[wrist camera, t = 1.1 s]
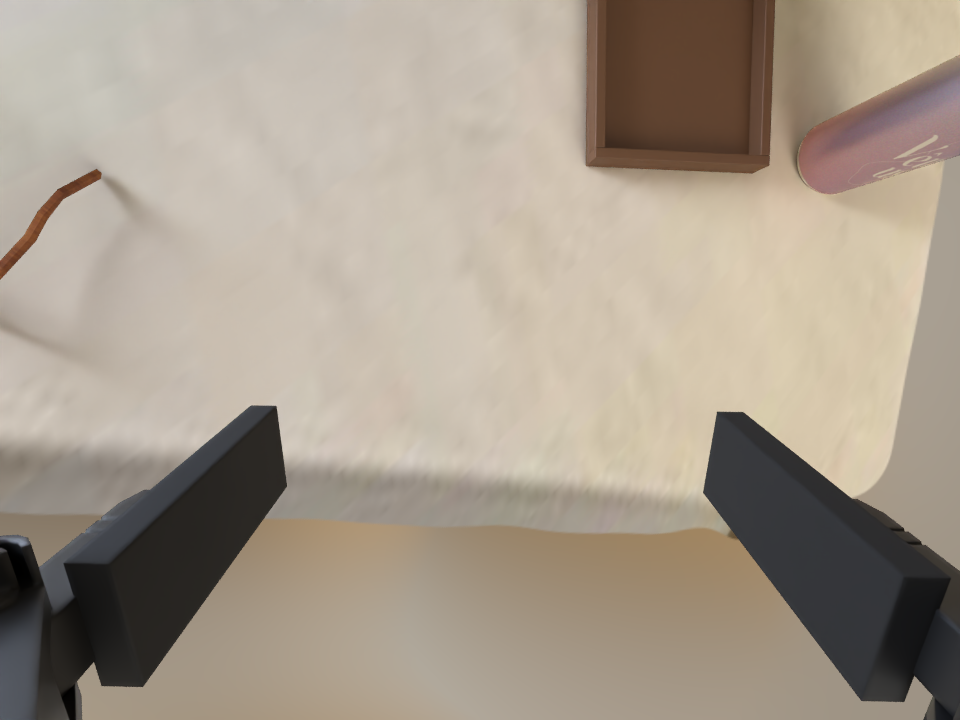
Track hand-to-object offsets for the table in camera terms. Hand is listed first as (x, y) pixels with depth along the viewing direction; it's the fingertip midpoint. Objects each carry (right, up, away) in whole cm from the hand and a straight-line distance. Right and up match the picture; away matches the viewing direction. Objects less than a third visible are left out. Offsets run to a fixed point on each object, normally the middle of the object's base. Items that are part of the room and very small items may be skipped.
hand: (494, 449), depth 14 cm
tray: (+15, +26, +24) cm, 39 cm away
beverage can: (+29, +20, +27) cm, 44 cm away
